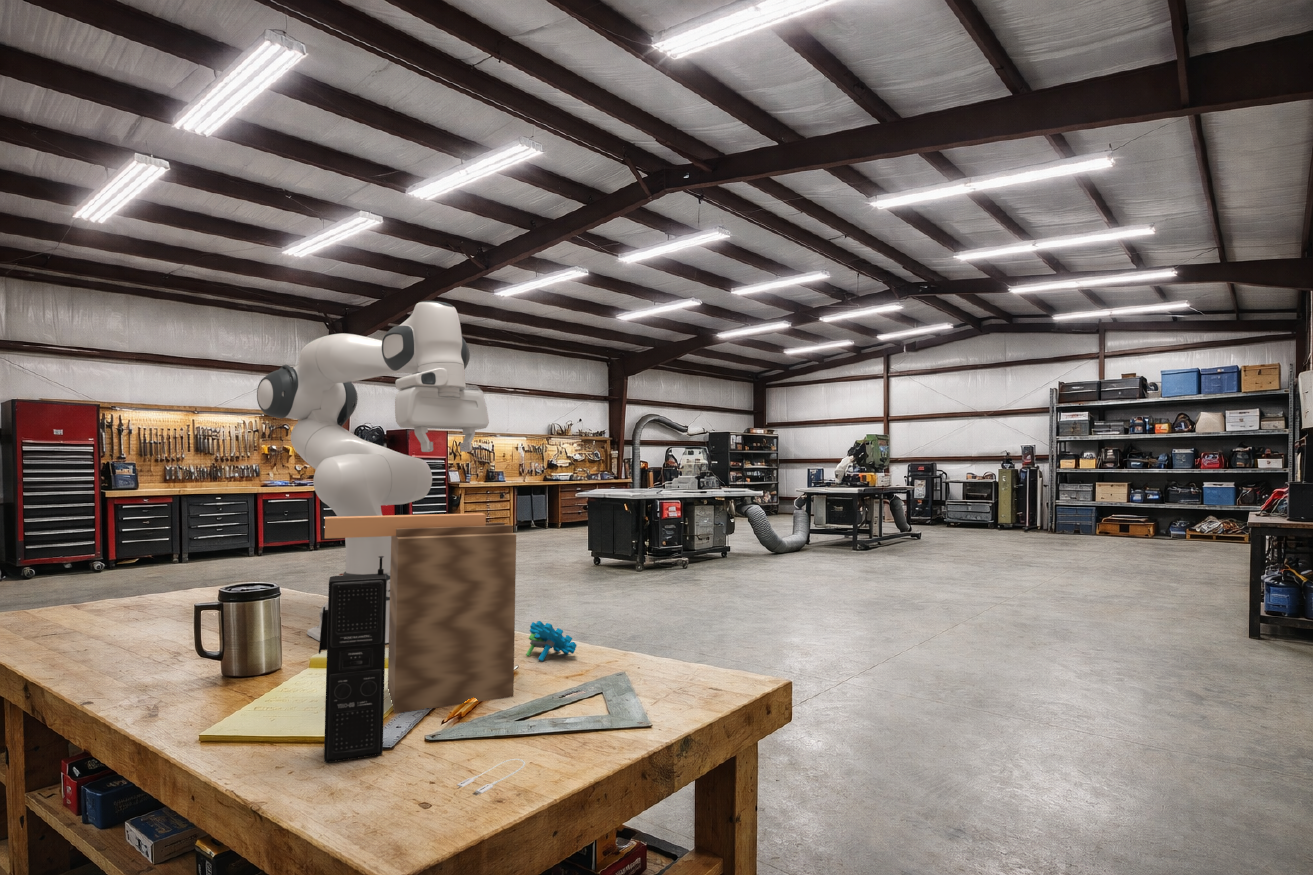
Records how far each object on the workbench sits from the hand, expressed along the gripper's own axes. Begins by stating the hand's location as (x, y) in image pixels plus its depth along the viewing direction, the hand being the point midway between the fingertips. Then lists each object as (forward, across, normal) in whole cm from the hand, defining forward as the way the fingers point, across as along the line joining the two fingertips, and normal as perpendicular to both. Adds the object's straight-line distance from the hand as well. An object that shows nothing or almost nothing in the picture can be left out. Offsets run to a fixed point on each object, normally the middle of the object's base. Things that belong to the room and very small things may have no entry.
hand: (447, 451), depth 134 cm
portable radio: (+42, +37, +20) cm, 59 cm away
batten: (+15, +20, +12) cm, 27 cm away
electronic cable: (+44, +31, +40) cm, 67 cm away
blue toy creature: (+42, -11, +12) cm, 45 cm away
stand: (+41, +14, +13) cm, 45 cm away
